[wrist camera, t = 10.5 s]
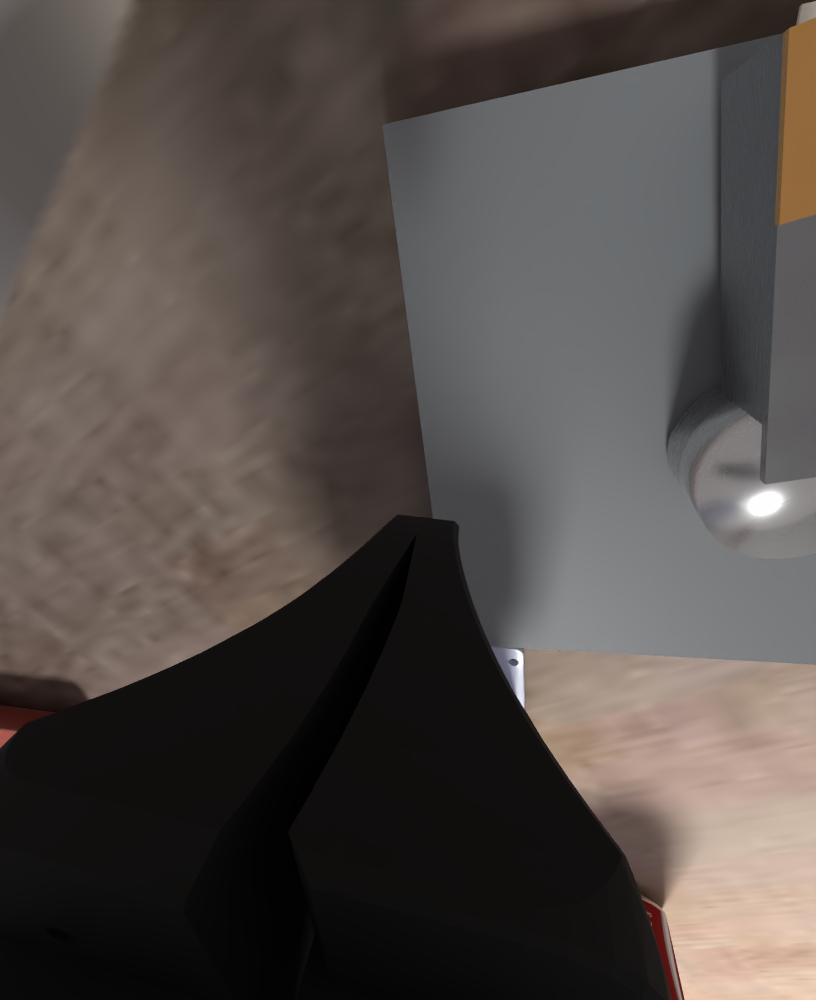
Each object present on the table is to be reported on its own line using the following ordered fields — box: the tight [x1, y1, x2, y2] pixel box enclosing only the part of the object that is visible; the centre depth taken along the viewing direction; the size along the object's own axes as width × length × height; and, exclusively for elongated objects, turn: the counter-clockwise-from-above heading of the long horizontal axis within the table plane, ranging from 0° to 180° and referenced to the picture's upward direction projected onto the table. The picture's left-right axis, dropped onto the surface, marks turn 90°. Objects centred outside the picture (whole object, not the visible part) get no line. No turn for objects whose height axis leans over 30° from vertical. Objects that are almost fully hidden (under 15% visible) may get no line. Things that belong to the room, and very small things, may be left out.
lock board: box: [382, 1, 816, 665], centre depth 15 cm, size 20×21×2 cm
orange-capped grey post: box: [667, 17, 816, 559], centre depth 12 cm, size 4×12×4 cm, turn 17°
